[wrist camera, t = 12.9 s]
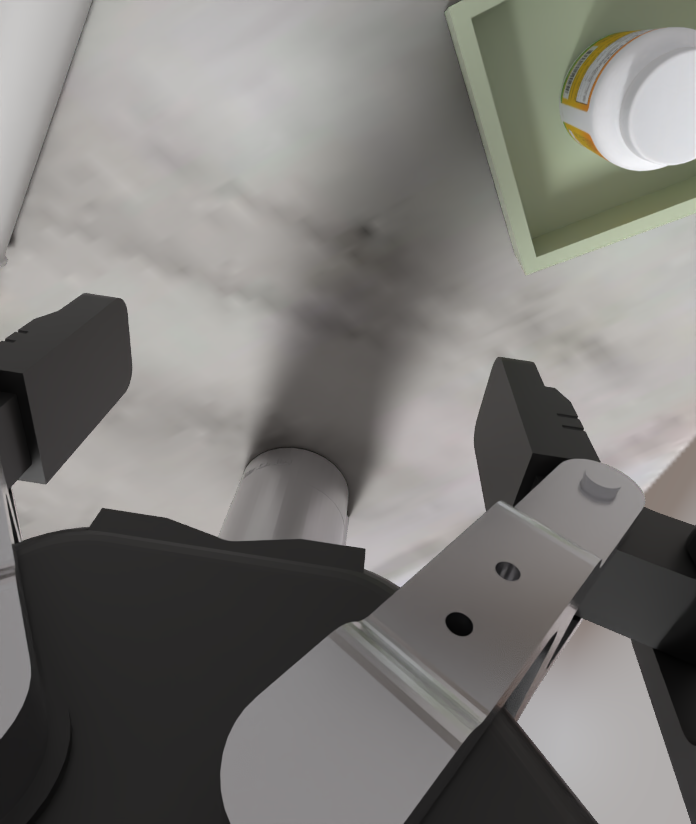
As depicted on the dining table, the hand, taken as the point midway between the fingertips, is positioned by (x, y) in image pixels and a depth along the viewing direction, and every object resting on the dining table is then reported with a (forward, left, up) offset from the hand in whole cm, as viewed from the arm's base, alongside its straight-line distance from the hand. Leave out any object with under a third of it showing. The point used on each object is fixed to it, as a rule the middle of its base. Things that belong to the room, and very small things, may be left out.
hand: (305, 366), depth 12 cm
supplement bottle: (-2, -13, -25) cm, 28 cm away
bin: (-1, -13, -25) cm, 28 cm away
